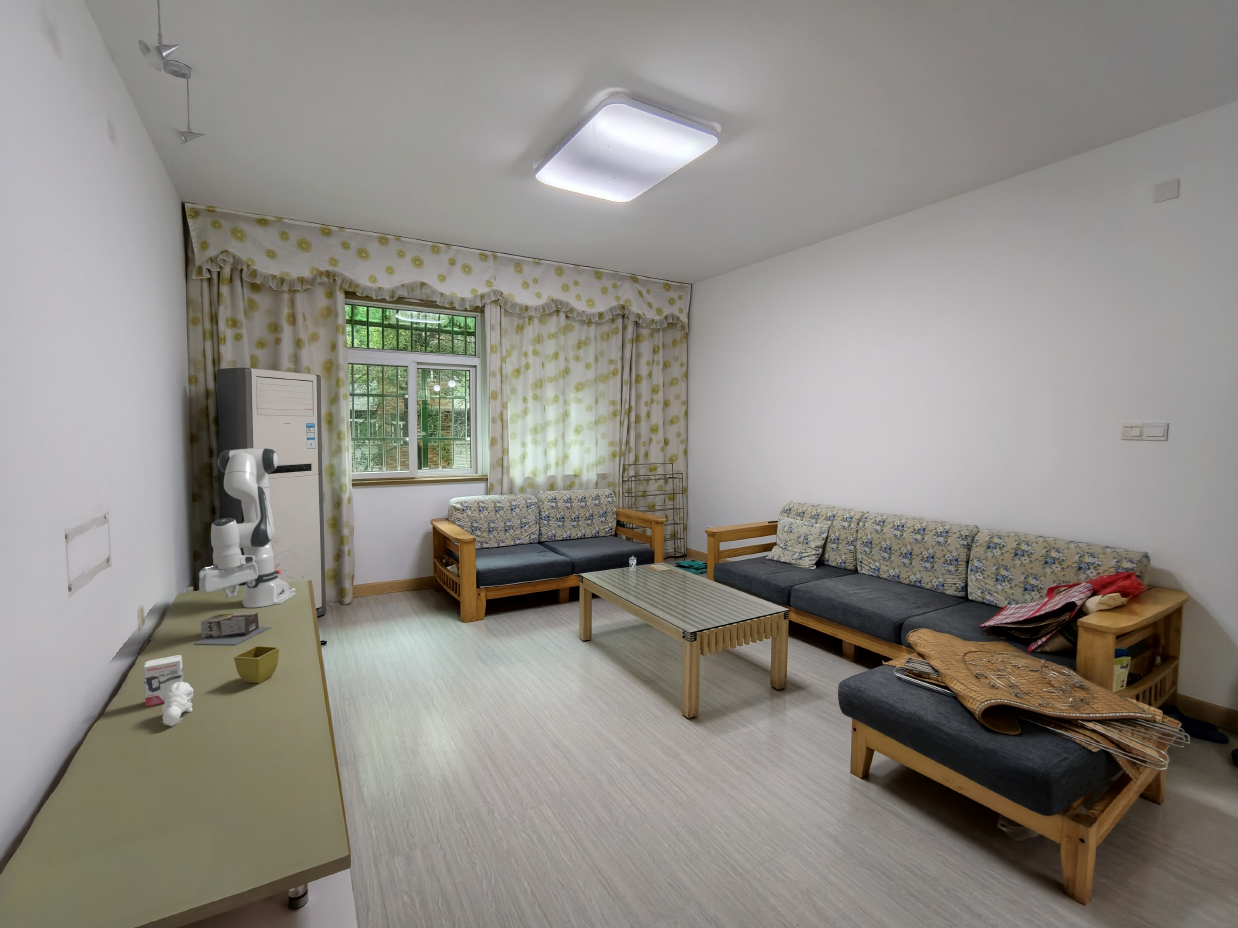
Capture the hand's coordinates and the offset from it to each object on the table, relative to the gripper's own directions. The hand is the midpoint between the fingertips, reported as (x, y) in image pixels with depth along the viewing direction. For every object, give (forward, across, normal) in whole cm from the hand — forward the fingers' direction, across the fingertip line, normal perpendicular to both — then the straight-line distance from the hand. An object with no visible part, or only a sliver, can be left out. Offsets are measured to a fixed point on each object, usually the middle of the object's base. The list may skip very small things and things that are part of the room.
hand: (231, 597), depth 215 cm
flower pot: (+15, -24, -48) cm, 55 cm away
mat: (+15, -1, 0) cm, 15 cm away
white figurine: (+14, -48, -50) cm, 71 cm away
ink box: (+14, -43, -34) cm, 57 cm away
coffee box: (+11, -3, +10) cm, 15 cm away
